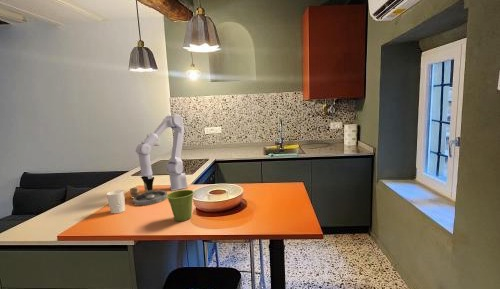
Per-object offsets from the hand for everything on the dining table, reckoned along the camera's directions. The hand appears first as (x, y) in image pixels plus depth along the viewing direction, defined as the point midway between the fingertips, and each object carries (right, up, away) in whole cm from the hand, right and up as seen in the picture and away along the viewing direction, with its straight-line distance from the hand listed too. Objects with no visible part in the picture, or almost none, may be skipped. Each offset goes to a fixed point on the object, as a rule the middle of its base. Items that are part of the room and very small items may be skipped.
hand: (149, 189), depth 165 cm
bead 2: (0, -2, 0) cm, 2 cm away
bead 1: (-9, -5, +4) cm, 12 cm away
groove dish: (+2, -5, -4) cm, 7 cm away
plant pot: (+27, -8, -35) cm, 45 cm away
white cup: (-9, -9, -18) cm, 22 cm away
